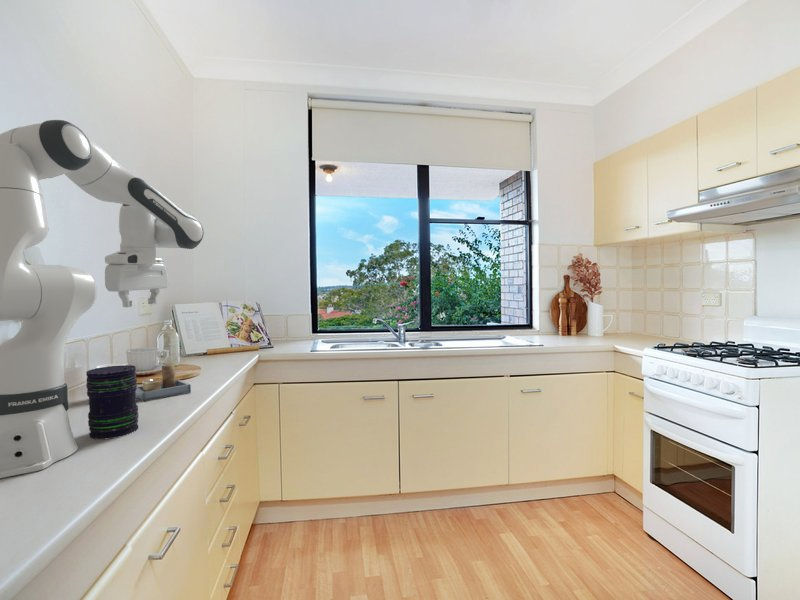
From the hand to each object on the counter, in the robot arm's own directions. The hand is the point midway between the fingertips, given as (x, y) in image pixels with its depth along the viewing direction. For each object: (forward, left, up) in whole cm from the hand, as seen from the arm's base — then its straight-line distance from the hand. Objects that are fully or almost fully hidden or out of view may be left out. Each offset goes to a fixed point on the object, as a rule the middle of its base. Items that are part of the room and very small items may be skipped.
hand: (140, 305), depth 125 cm
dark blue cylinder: (-12, -23, -29) cm, 39 cm away
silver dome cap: (+4, +11, -28) cm, 30 cm away
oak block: (+4, +7, -28) cm, 29 cm away
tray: (+7, +9, -29) cm, 31 cm away
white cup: (-5, +17, -29) cm, 34 cm away
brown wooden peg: (+9, +9, -28) cm, 31 cm away
